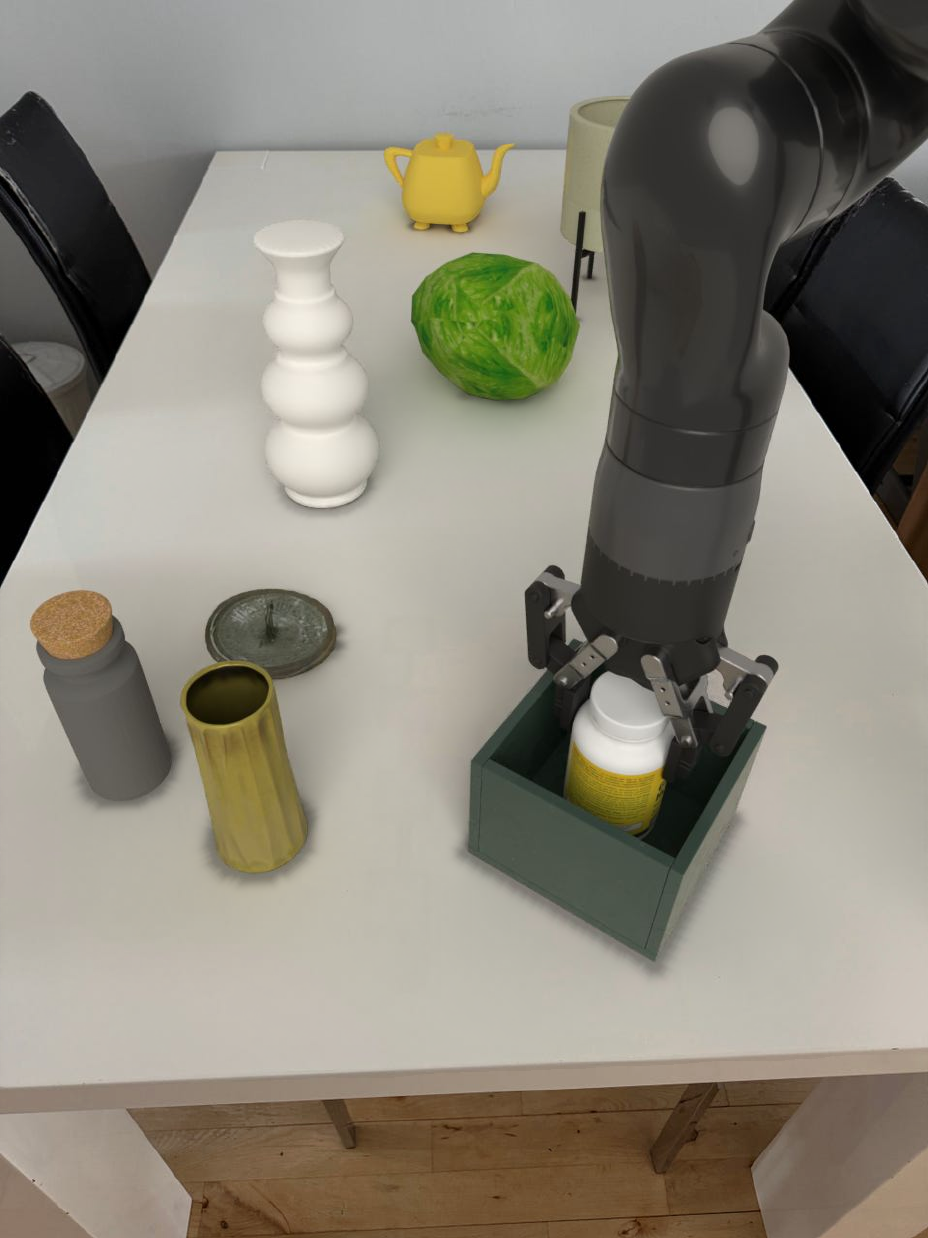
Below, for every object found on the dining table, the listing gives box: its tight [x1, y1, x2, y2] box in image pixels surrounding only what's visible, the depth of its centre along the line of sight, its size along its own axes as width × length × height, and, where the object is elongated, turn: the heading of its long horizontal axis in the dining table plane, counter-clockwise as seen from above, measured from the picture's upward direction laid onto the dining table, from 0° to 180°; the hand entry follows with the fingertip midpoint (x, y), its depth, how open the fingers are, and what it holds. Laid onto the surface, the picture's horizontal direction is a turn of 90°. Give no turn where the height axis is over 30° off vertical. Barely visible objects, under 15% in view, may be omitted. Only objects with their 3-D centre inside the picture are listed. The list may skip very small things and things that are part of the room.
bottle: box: [29, 589, 172, 801], centre depth 60 cm, size 6×6×15 cm
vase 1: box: [179, 661, 308, 874], centre depth 56 cm, size 6×6×14 cm
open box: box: [467, 638, 768, 963], centre depth 58 cm, size 14×13×10 cm
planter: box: [559, 95, 632, 315], centre depth 115 cm, size 15×16×23 cm
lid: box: [204, 588, 338, 681], centre depth 73 cm, size 11×10×5 cm
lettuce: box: [410, 251, 581, 401], centre depth 101 cm, size 17×20×17 cm
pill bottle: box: [563, 671, 675, 840], centre depth 56 cm, size 6×6×11 cm
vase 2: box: [252, 219, 380, 509], centre depth 82 cm, size 11×11×25 cm
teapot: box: [383, 132, 516, 233], centre depth 139 cm, size 13×20×12 cm
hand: (622, 745), depth 55 cm, fingers closed on pill bottle, 6 cm apart
